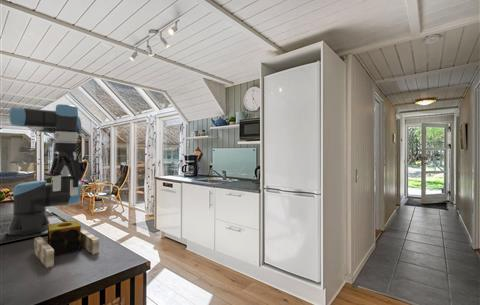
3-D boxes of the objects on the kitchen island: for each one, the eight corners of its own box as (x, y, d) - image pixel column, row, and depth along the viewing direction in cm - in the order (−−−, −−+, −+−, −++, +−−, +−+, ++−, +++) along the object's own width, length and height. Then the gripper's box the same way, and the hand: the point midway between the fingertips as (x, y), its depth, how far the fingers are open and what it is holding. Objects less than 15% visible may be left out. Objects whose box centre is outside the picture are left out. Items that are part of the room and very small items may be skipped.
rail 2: (76, 242, 102) (77, 229, 102) (82, 241, 104) (82, 228, 104) (92, 254, 91) (93, 240, 91) (98, 253, 92) (99, 238, 92)
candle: (47, 258, 87) (48, 230, 87) (46, 249, 95) (46, 224, 95) (80, 251, 94) (81, 225, 94) (77, 243, 101) (77, 219, 101)
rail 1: (34, 252, 91) (34, 238, 91) (40, 250, 93) (41, 236, 93) (46, 268, 80) (46, 251, 80) (53, 265, 81) (54, 249, 81)
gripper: (40, 141, 102) (39, 190, 103) (72, 143, 91) (71, 198, 91) (60, 141, 109) (59, 188, 110) (93, 143, 97) (91, 195, 98)
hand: (65, 193), depth 101 cm, fingers open, 13 cm apart
